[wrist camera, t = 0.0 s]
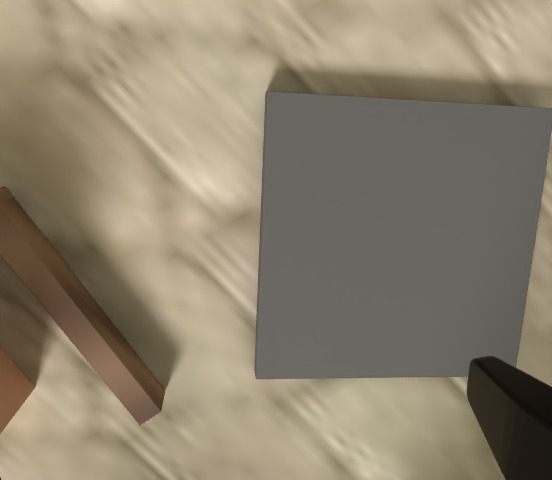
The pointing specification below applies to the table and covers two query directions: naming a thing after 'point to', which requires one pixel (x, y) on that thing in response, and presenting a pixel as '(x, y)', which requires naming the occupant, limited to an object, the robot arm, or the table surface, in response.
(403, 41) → the table surface
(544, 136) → the rubber mat
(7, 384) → the terracotta block
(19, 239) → the walnut bay
